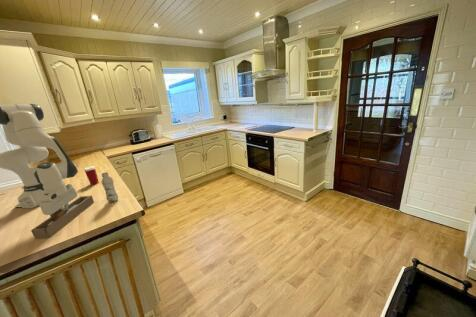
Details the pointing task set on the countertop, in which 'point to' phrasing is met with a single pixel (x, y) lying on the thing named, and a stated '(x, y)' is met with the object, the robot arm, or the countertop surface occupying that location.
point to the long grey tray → (62, 218)
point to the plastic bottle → (109, 187)
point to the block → (57, 215)
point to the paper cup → (91, 175)
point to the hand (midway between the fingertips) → (65, 212)
